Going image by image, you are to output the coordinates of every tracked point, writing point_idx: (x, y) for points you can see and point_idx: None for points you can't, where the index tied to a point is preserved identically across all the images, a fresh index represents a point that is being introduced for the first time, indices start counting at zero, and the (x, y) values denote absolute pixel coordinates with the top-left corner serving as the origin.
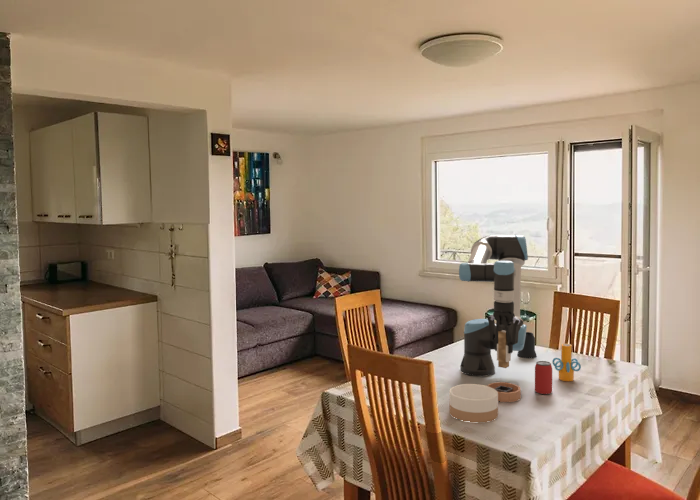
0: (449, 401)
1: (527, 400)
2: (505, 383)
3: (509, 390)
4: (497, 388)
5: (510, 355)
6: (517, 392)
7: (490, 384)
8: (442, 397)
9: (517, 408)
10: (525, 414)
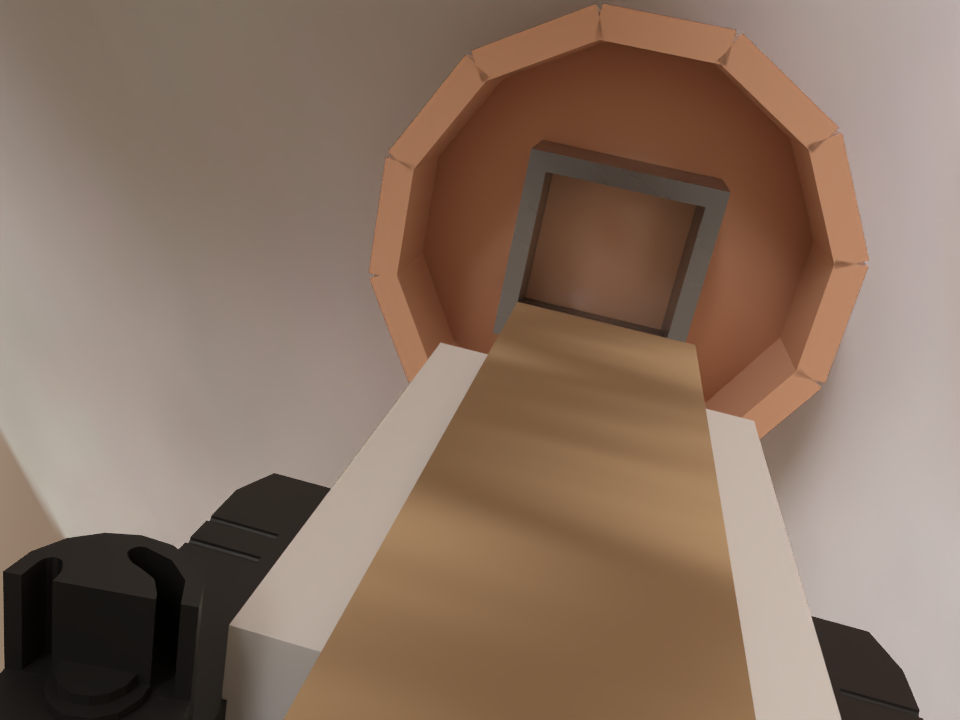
0: None
1: (937, 262)
2: (580, 46)
3: (697, 299)
4: (521, 285)
5: (770, 498)
6: (828, 363)
7: (397, 221)
8: (65, 532)
9: (842, 559)
10: (949, 684)
